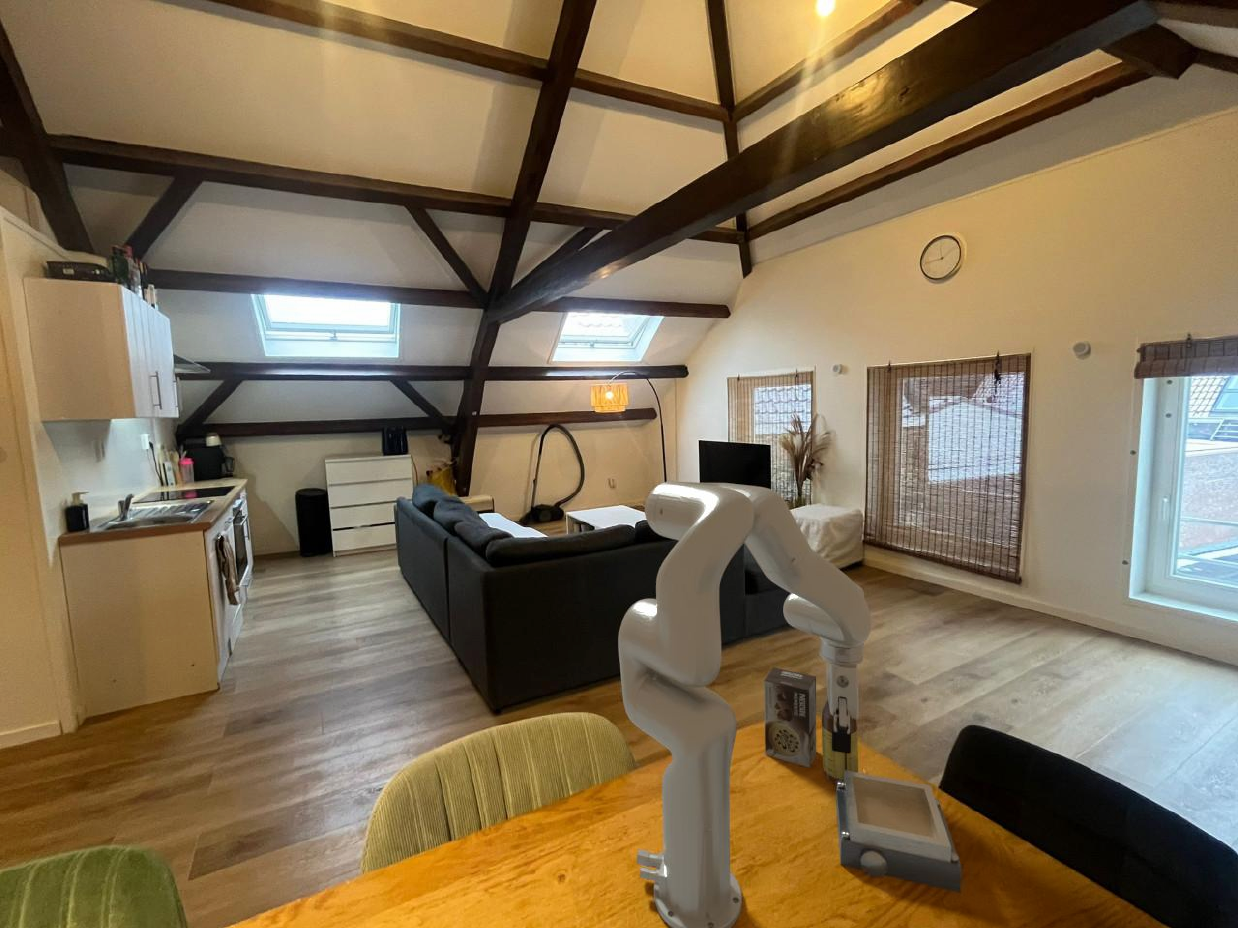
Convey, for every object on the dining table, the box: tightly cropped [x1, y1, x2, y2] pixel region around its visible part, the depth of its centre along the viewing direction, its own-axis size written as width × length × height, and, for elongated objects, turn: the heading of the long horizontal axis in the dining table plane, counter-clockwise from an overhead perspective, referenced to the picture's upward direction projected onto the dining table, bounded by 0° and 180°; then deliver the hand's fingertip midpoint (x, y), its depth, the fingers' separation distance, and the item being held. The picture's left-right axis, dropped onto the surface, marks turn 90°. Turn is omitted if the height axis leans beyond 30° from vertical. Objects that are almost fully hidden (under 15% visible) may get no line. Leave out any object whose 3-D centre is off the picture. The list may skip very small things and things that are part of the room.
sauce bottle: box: [821, 698, 859, 785], centre depth 101 cm, size 7×6×20 cm
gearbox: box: [835, 770, 962, 894], centre depth 86 cm, size 16×15×6 cm
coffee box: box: [763, 667, 817, 769], centre depth 109 cm, size 9×6×16 cm
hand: (840, 739), depth 101 cm, fingers closed on sauce bottle, 6 cm apart
